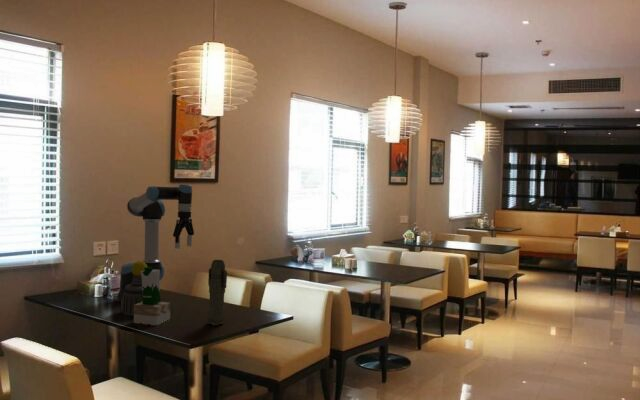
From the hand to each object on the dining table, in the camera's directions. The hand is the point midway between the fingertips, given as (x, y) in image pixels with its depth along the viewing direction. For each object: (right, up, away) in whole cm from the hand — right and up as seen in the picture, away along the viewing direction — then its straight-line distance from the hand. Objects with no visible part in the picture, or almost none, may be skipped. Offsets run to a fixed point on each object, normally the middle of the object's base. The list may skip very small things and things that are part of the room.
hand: (183, 247), depth 339 cm
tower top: (-12, -34, -20) cm, 42 cm away
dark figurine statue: (+22, -41, -19) cm, 50 cm away
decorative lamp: (-26, -38, -2) cm, 46 cm away
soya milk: (-12, -29, -20) cm, 38 cm away
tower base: (-12, -39, -20) cm, 46 cm away
